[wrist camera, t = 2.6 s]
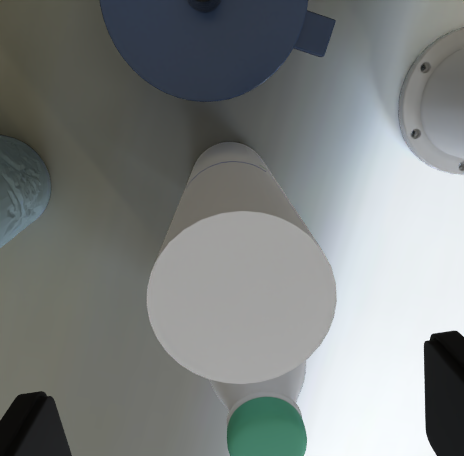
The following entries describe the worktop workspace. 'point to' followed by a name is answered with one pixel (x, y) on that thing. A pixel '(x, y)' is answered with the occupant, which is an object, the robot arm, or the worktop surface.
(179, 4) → the pot lid
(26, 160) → the grey green cup
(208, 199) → the cylindrical container
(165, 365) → the worktop surface
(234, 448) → the milk bottle
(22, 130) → the worktop surface
